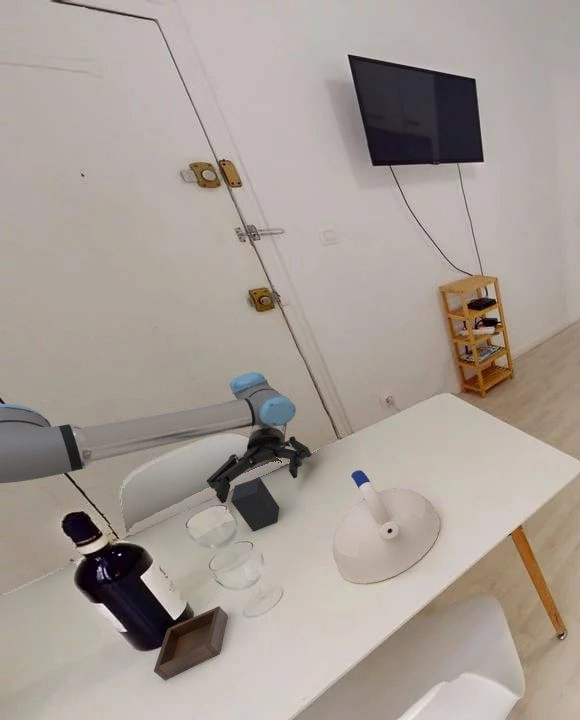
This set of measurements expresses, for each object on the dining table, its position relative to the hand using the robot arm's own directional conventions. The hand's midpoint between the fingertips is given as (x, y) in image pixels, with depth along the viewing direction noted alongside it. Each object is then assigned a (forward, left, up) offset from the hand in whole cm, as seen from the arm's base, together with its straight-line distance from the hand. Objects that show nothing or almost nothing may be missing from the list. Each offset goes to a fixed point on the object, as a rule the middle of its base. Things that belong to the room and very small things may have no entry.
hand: (258, 486), depth 98 cm
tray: (+11, -33, -6) cm, 36 cm away
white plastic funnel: (+36, -14, -6) cm, 39 cm away
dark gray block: (+3, -5, -6) cm, 8 cm away
